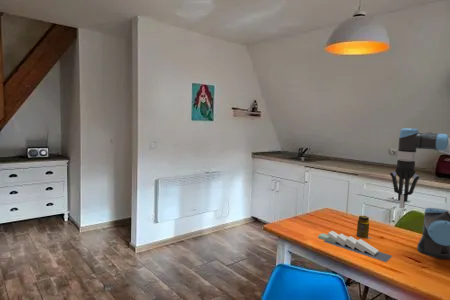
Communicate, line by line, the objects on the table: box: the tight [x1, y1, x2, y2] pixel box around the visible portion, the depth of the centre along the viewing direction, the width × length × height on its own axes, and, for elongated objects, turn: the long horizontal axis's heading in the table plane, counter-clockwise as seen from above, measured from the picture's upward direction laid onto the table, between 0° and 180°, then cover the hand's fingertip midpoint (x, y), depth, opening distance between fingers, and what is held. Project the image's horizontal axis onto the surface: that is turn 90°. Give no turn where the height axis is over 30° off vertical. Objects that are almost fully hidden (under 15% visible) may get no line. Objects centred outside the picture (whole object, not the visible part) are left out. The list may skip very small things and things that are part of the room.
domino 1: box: [317, 233, 337, 243], centre depth 170 cm, size 2×5×10 cm
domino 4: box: [346, 235, 365, 253], centre depth 159 cm, size 2×5×10 cm
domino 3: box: [337, 233, 356, 249], centre depth 162 cm, size 2×5×10 cm
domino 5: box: [355, 238, 380, 256], centre depth 155 cm, size 2×5×10 cm
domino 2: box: [327, 230, 346, 246], centre depth 166 cm, size 2×5×10 cm
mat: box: [322, 240, 393, 263], centre depth 159 cm, size 32×10×1 cm, turn 45°
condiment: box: [356, 215, 372, 239], centre depth 176 cm, size 7×8×12 cm
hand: (401, 207), depth 151 cm, fingers closed
